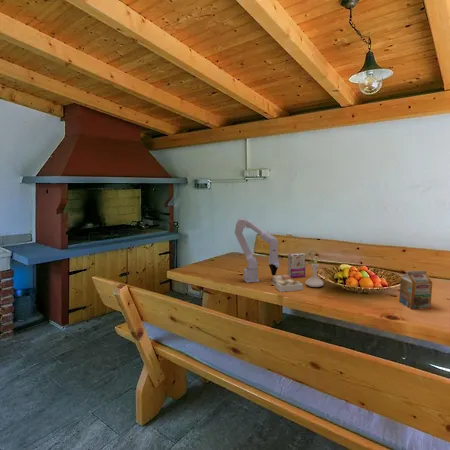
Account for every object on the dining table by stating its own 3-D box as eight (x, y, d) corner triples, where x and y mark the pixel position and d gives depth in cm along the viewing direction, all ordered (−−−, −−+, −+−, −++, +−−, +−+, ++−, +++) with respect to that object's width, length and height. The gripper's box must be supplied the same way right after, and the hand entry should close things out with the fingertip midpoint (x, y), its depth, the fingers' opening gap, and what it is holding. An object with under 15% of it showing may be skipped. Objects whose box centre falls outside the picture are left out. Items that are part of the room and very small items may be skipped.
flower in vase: (316, 282, 216) (317, 245, 212) (327, 287, 205) (328, 248, 202) (299, 284, 211) (300, 247, 208) (310, 289, 201) (311, 250, 197)
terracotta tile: (283, 279, 212) (283, 276, 211) (281, 277, 216) (281, 275, 216) (290, 279, 213) (290, 276, 213) (287, 277, 217) (287, 274, 217)
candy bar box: (302, 275, 233) (302, 252, 230) (305, 277, 228) (305, 254, 226) (287, 276, 230) (288, 253, 228) (290, 278, 225) (291, 255, 223)
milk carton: (417, 301, 179) (420, 268, 176) (430, 308, 168) (433, 273, 166) (399, 301, 179) (401, 268, 176) (410, 309, 168) (413, 274, 166)
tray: (281, 292, 197) (281, 286, 197) (276, 288, 205) (276, 282, 204) (302, 289, 201) (302, 284, 200) (297, 286, 208) (297, 280, 208)
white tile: (275, 280, 210) (275, 277, 210) (273, 278, 215) (273, 275, 214) (282, 280, 211) (282, 277, 211) (279, 278, 216) (279, 275, 216)
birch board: (277, 287, 206) (277, 283, 205) (271, 283, 215) (271, 278, 215) (294, 286, 208) (295, 281, 208) (288, 281, 218) (288, 277, 218)
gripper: (283, 257, 212) (283, 277, 214) (275, 252, 226) (275, 271, 228) (273, 258, 210) (273, 278, 212) (265, 253, 224) (265, 272, 226)
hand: (273, 275), depth 220 cm, fingers closed
